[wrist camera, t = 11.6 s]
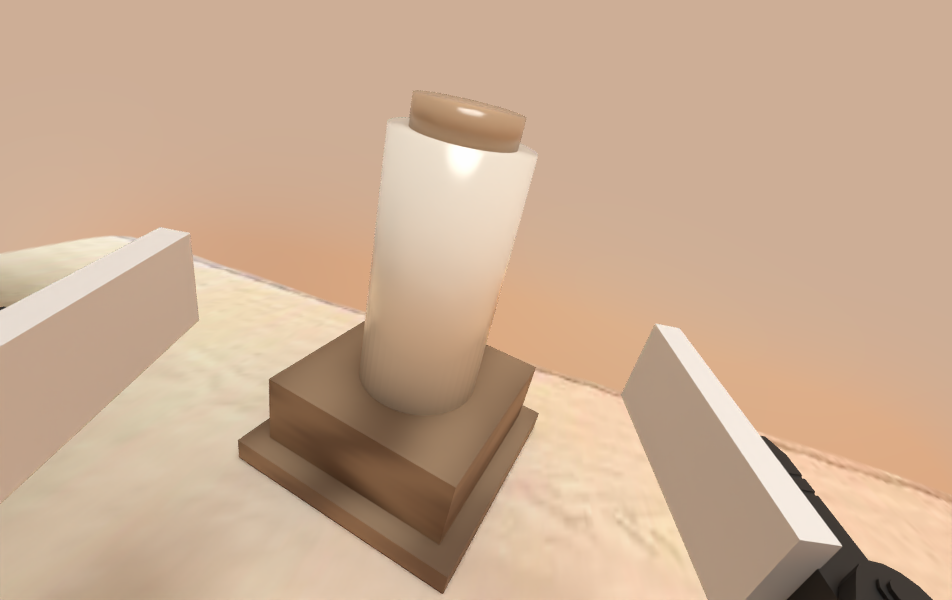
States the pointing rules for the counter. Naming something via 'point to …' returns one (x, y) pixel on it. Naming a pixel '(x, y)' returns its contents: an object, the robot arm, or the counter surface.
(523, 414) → the pedestal
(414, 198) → the canister
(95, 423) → the counter surface
